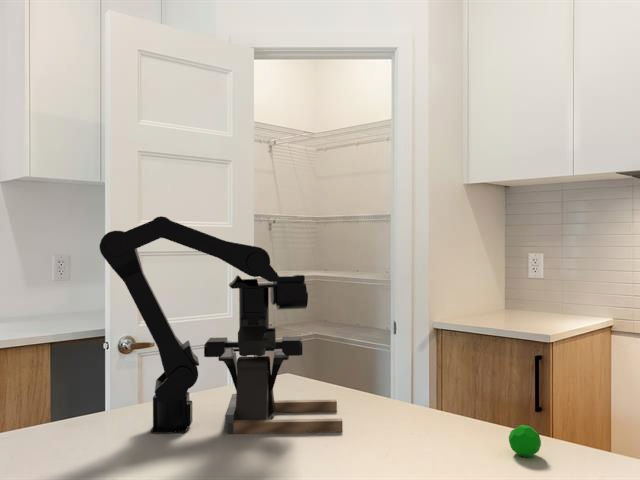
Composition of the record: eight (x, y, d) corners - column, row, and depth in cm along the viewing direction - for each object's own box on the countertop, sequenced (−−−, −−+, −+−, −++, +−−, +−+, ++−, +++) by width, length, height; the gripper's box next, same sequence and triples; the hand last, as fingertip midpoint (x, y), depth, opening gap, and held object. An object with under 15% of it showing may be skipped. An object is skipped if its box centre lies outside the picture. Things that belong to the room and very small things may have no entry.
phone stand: (246, 411, 119) (244, 352, 118) (275, 411, 118) (273, 352, 118) (234, 425, 110) (232, 362, 110) (266, 426, 109) (263, 362, 109)
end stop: (225, 434, 106) (225, 414, 106) (232, 410, 120) (232, 393, 120) (233, 433, 107) (233, 414, 107) (239, 410, 121) (239, 393, 120)
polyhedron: (547, 457, 95) (547, 428, 95) (527, 463, 93) (527, 433, 93) (522, 447, 100) (522, 419, 100) (502, 453, 97) (502, 424, 97)
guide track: (228, 433, 106) (227, 423, 106) (235, 410, 120) (235, 401, 120) (342, 431, 108) (342, 420, 108) (336, 409, 122) (336, 399, 122)
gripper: (199, 317, 105) (200, 403, 105) (303, 316, 106) (303, 401, 106) (207, 309, 116) (208, 387, 116) (301, 308, 117) (302, 385, 117)
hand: (254, 390), depth 114 cm, fingers closed on phone stand, 6 cm apart
